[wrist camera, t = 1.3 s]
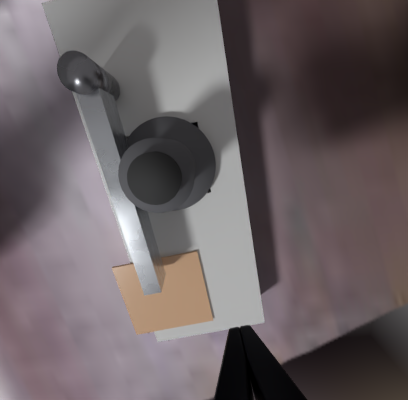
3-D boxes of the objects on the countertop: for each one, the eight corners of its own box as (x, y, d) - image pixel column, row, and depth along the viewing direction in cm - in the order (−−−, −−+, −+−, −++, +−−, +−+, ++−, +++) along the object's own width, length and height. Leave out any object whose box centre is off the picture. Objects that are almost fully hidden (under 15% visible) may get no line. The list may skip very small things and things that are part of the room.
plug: (148, 204, 18) (108, 255, 10) (127, 130, 17) (57, 119, 8) (218, 190, 18) (235, 230, 10) (204, 114, 16) (210, 86, 8)
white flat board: (149, 318, 22) (141, 347, 19) (52, 35, 15) (13, 6, 12) (255, 298, 22) (265, 324, 18) (209, -1, 14) (212, -39, 11)
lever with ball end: (149, 272, 17) (138, 301, 14) (86, 75, 13) (50, 54, 10) (170, 268, 17) (164, 296, 13) (114, 69, 13) (88, 46, 10)
